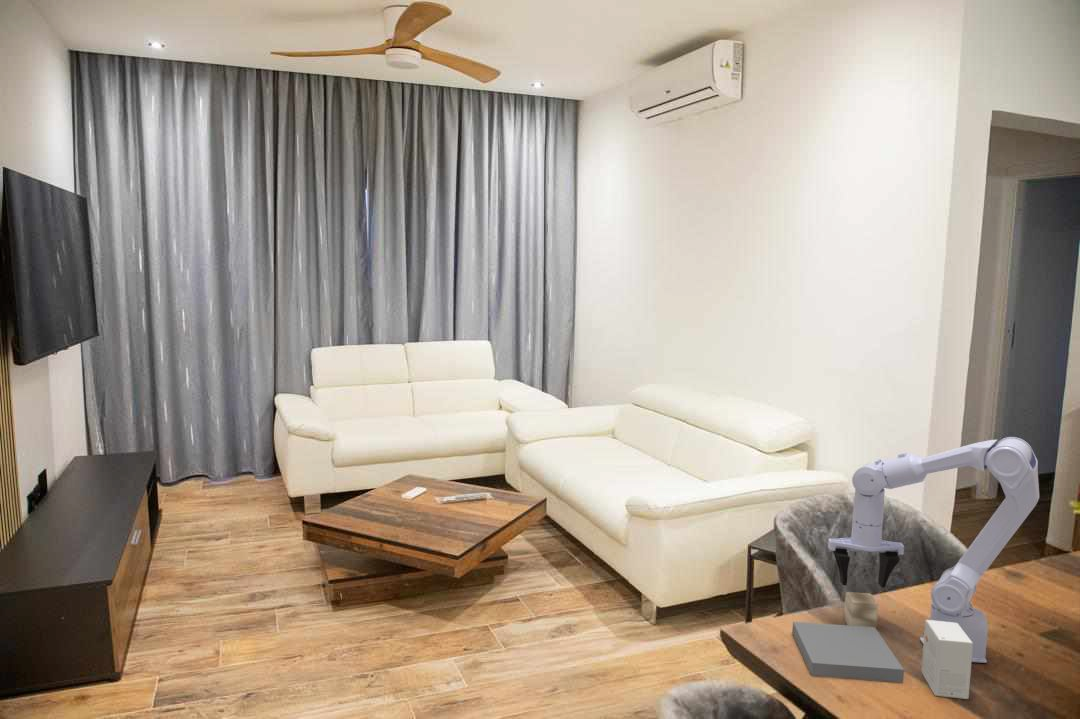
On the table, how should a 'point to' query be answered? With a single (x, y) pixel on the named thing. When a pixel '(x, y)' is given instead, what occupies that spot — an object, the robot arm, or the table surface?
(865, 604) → the maple block
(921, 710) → the table surface
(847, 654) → the slate plinth
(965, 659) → the small box
